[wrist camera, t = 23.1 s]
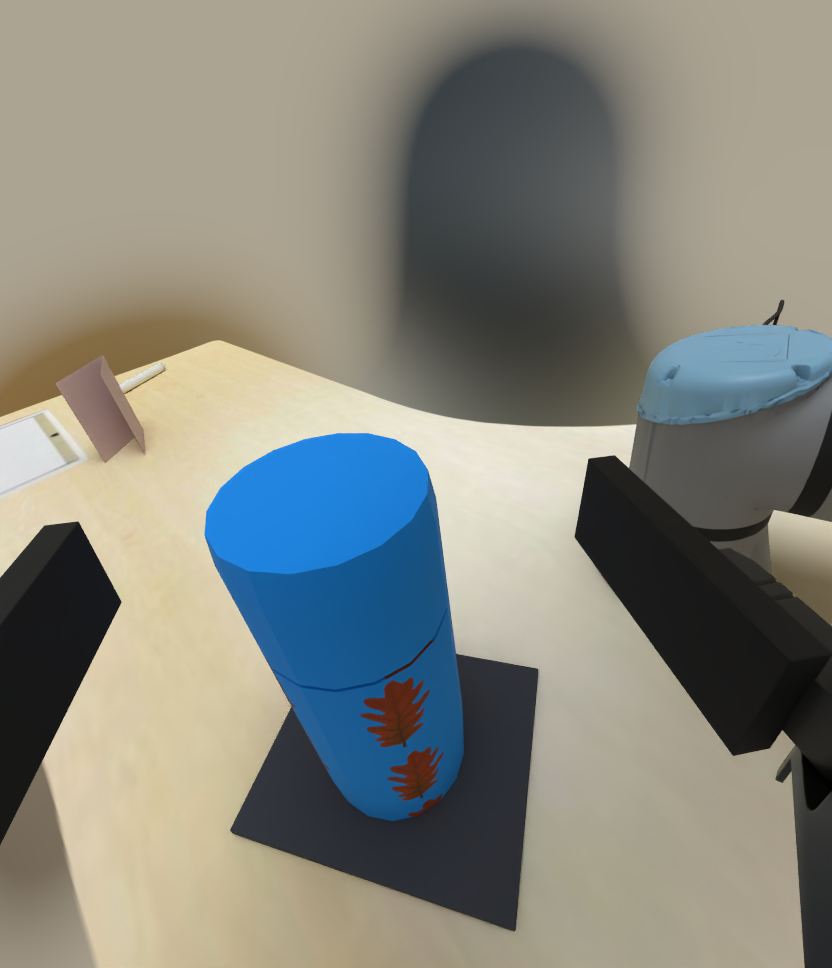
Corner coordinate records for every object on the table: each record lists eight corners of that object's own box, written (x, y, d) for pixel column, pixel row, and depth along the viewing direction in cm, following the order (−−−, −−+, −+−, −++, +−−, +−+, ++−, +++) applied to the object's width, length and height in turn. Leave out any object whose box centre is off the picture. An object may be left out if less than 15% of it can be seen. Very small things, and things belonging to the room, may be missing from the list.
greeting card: (139, 429, 91) (98, 355, 82) (173, 427, 89) (135, 352, 81) (100, 463, 82) (50, 383, 73) (138, 461, 80) (91, 380, 72)
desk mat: (330, 634, 46) (329, 630, 46) (538, 672, 40) (538, 668, 40) (232, 833, 33) (229, 830, 33) (515, 931, 28) (515, 929, 27)
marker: (163, 368, 118) (159, 359, 117) (170, 368, 118) (165, 359, 116) (106, 401, 105) (101, 391, 104) (113, 401, 104) (107, 391, 103)
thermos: (360, 859, 31) (218, 624, 16) (311, 720, 39) (187, 479, 24) (495, 767, 34) (480, 504, 20) (424, 657, 42) (376, 411, 28)
